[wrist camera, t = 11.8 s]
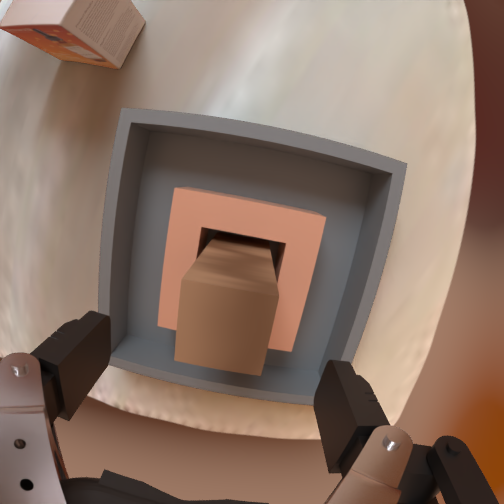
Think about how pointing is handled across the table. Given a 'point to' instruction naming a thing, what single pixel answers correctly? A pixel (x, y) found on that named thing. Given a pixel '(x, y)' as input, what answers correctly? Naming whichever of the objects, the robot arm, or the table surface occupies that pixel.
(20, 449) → the robot arm
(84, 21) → the small box
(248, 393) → the walled bin
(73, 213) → the table surface
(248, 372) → the walnut peg
